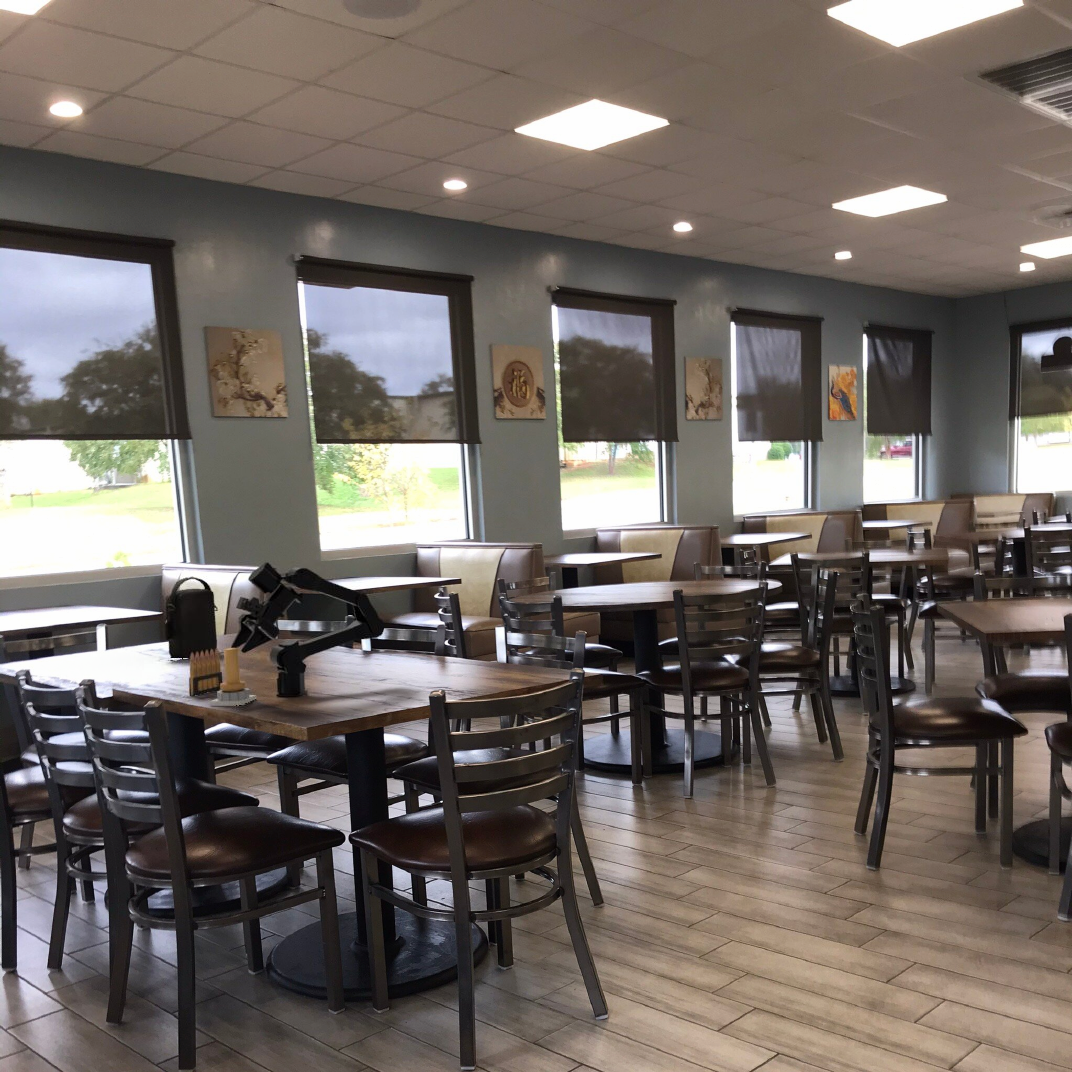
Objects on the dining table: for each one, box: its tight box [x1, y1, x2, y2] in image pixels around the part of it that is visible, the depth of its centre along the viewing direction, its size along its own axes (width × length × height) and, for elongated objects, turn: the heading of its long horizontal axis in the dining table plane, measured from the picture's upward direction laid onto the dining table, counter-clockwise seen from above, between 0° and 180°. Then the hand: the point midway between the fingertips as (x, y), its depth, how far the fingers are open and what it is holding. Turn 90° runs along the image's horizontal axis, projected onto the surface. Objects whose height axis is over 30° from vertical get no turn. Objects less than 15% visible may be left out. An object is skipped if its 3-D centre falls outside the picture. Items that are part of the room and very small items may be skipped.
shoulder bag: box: [157, 576, 224, 662], centre depth 365 cm, size 23×9×28 cm, turn 151°
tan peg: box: [220, 647, 247, 693], centre depth 273 cm, size 6×6×13 cm
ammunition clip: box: [188, 647, 224, 697], centre depth 290 cm, size 11×2×12 cm, turn 150°
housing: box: [209, 687, 257, 707], centre depth 273 cm, size 9×9×3 cm
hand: (237, 650), depth 274 cm, fingers open, 9 cm apart
